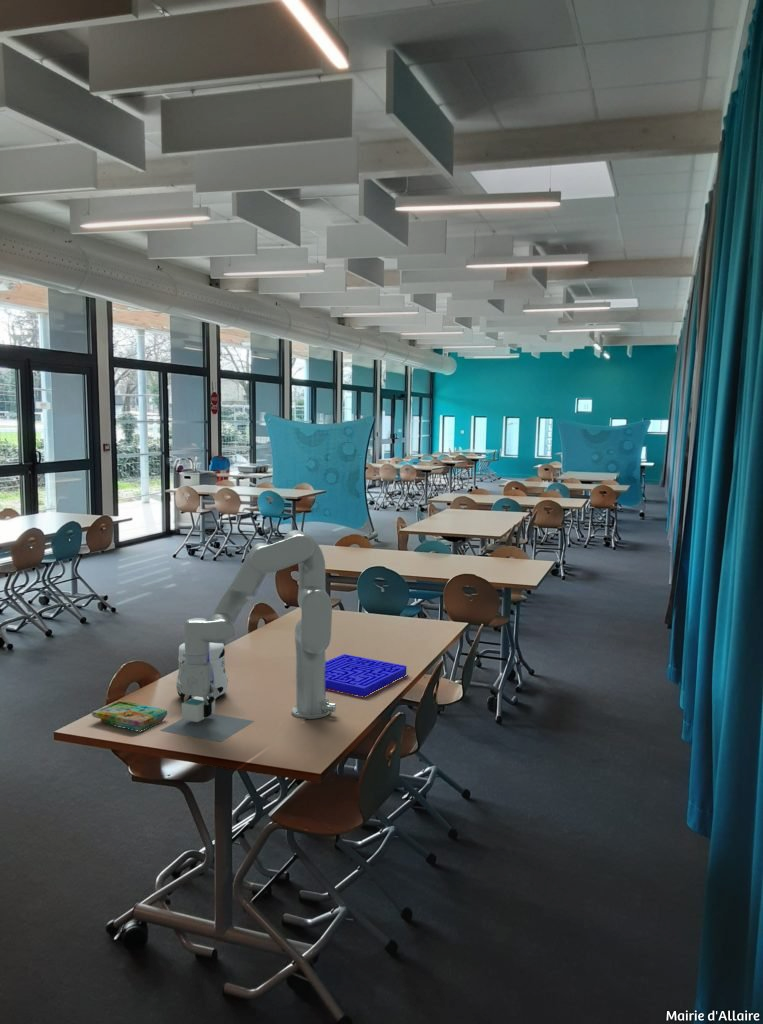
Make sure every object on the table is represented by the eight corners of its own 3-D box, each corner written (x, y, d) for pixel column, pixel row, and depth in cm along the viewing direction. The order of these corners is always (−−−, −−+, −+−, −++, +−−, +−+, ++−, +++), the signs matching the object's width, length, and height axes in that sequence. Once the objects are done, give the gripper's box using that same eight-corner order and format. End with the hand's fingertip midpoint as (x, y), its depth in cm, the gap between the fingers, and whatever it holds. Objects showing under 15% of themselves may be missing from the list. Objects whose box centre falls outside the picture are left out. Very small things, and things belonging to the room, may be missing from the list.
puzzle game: (139, 720, 225) (91, 709, 234) (140, 735, 226) (92, 723, 235) (167, 707, 236) (120, 697, 245) (167, 722, 236) (120, 711, 245)
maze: (364, 699, 258) (364, 688, 258) (296, 684, 275) (296, 673, 274) (408, 676, 283) (408, 666, 283) (344, 663, 300) (344, 654, 299)
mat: (254, 722, 235) (254, 721, 235) (220, 744, 219) (220, 742, 219) (196, 712, 244) (196, 711, 244) (160, 732, 227) (160, 730, 227)
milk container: (237, 691, 265) (236, 641, 263) (210, 707, 249) (209, 654, 247) (195, 685, 271) (194, 637, 269) (166, 701, 254) (164, 649, 253)
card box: (197, 722, 229) (197, 705, 229) (181, 719, 232) (181, 703, 231) (215, 712, 238) (215, 696, 237) (199, 709, 240) (199, 694, 239)
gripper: (167, 658, 233) (168, 714, 235) (213, 664, 226) (214, 722, 228) (182, 652, 240) (183, 706, 241) (227, 658, 233) (228, 714, 235)
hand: (198, 713), depth 235 cm, fingers closed on card box, 6 cm apart
